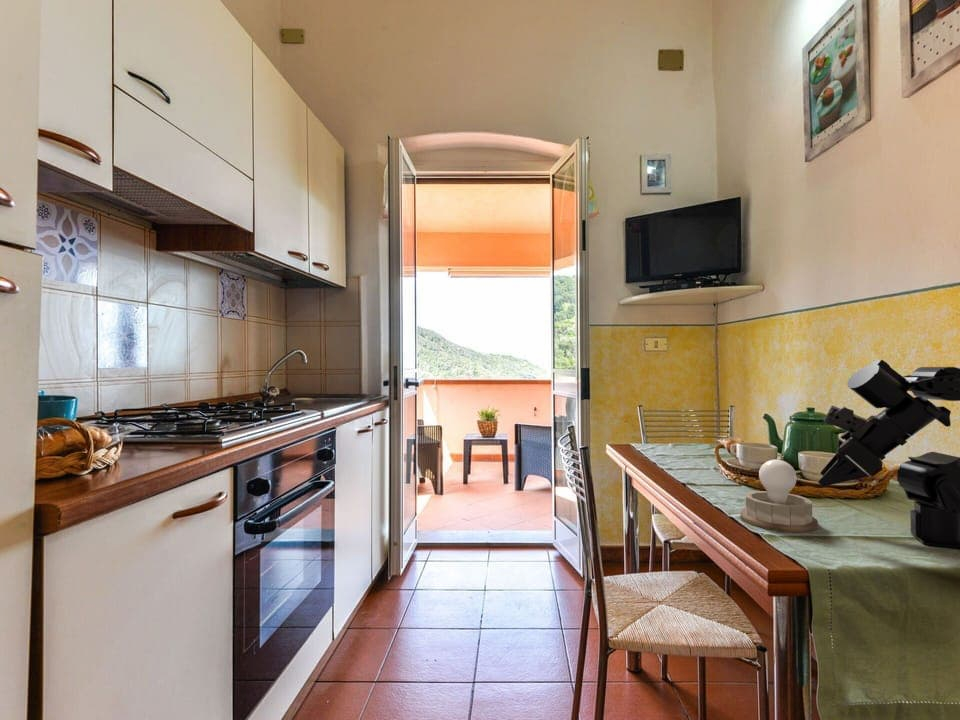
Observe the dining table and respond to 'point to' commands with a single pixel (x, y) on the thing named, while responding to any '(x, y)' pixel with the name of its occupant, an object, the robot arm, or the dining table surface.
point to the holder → (779, 513)
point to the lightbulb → (777, 480)
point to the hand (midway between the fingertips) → (821, 479)
